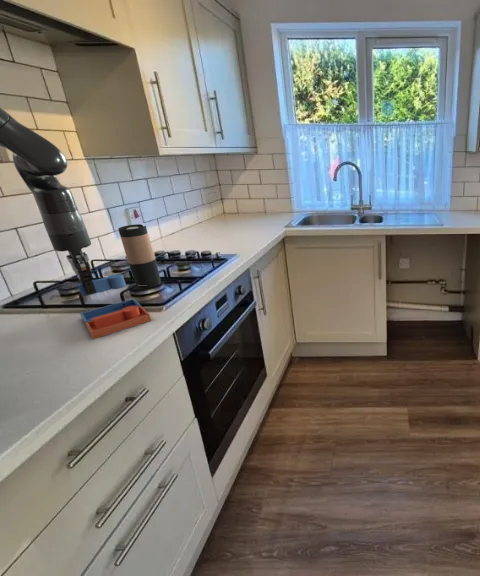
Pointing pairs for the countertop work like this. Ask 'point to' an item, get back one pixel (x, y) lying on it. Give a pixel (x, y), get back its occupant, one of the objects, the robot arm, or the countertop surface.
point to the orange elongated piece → (116, 317)
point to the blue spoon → (105, 284)
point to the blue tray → (107, 310)
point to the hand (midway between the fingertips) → (90, 292)
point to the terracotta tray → (118, 324)
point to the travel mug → (140, 255)
